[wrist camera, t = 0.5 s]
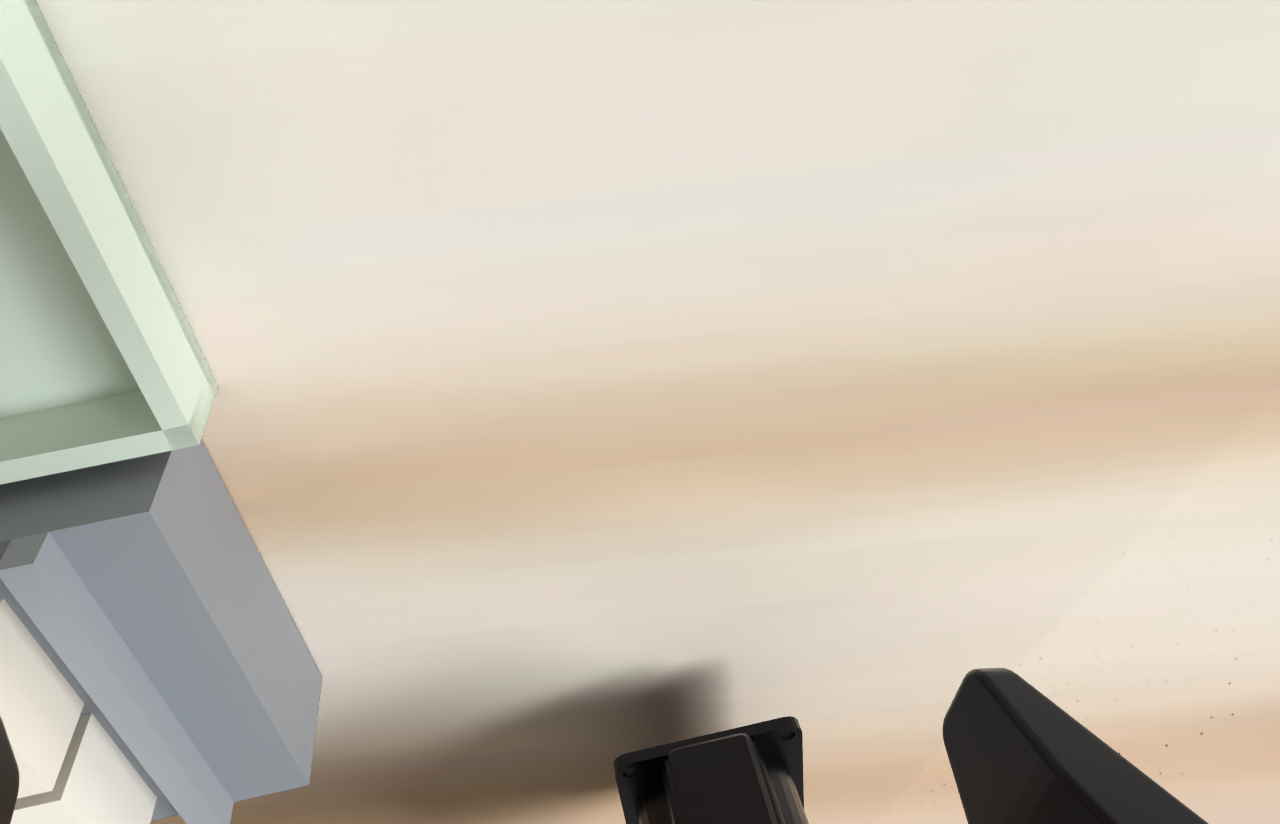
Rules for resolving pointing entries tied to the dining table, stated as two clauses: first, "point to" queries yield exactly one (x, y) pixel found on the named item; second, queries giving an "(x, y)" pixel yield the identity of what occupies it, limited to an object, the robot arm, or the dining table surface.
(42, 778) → the tile
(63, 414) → the tray
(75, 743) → the tile
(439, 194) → the dining table surface
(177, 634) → the bench board
